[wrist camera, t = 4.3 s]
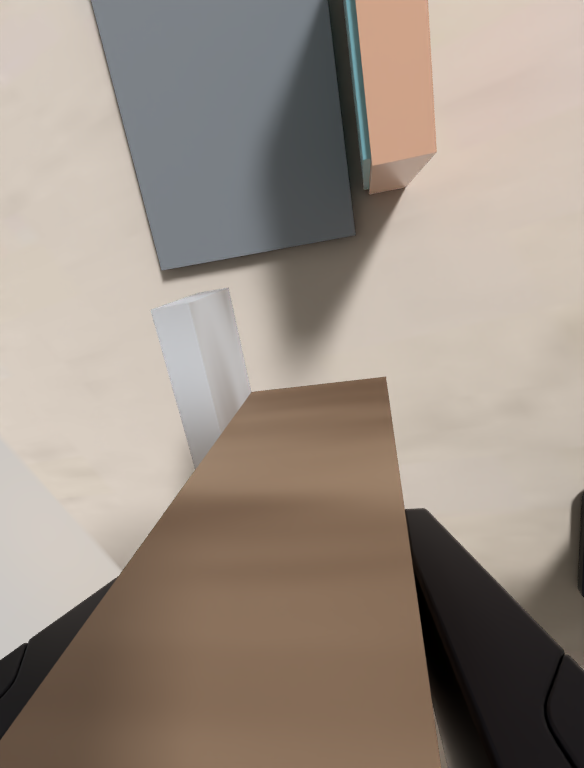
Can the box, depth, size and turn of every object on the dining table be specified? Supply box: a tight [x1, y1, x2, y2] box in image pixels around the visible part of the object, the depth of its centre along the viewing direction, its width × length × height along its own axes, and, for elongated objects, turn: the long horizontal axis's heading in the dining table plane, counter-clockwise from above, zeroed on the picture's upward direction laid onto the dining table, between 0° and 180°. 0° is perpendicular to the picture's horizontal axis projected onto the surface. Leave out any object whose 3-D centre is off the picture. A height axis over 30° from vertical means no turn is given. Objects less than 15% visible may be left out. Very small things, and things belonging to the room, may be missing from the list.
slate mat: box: [91, 0, 356, 270], centre depth 17 cm, size 12×9×1 cm
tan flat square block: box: [343, 0, 437, 195], centre depth 13 cm, size 8×2×8 cm, turn 10°
